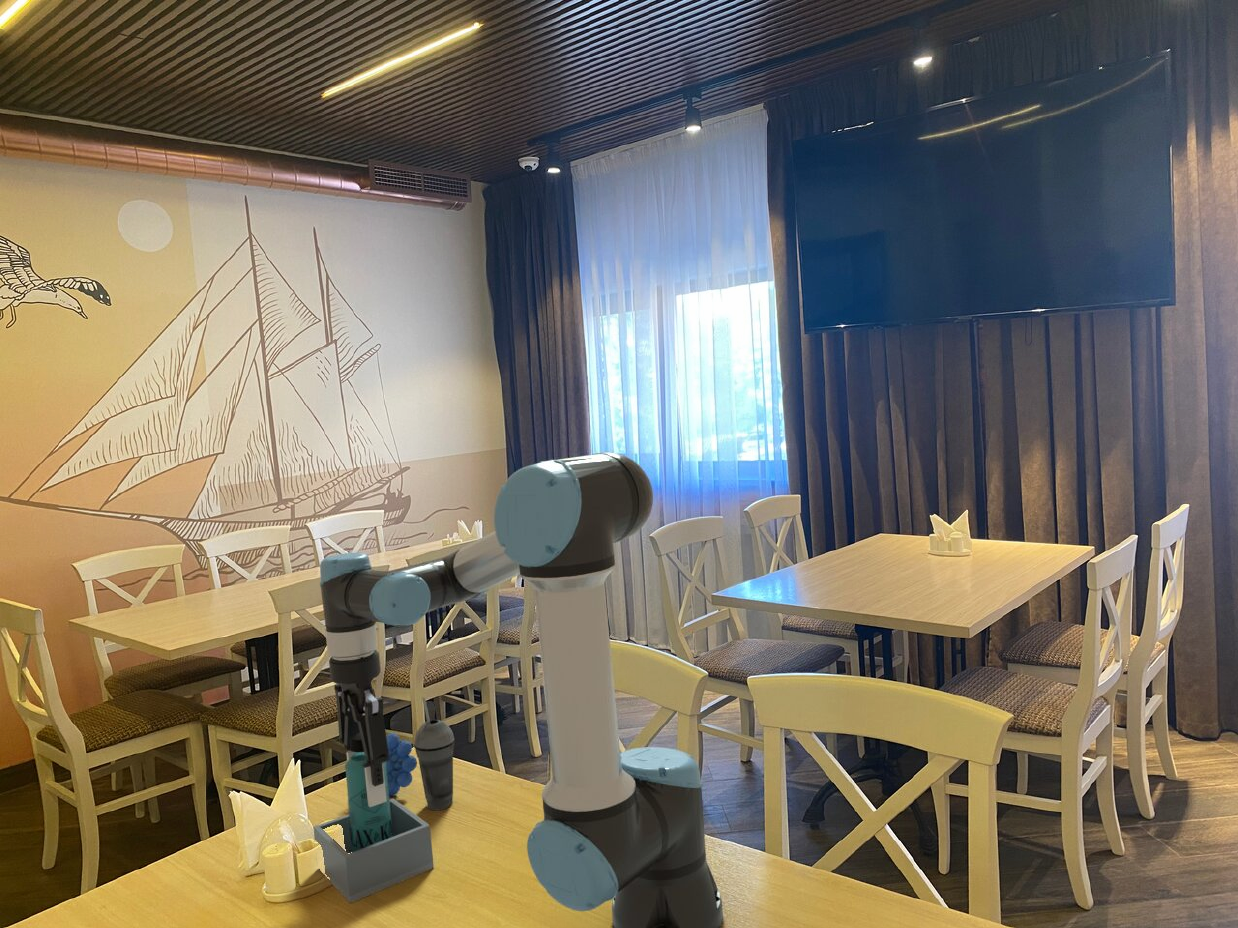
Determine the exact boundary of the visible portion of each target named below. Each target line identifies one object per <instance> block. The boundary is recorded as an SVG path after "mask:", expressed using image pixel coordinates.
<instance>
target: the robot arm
mask: <svg viewBox="0 0 1238 928" xmlns="http://www.w3.org/2000/svg"><path fill="white" fill-rule="evenodd" d="M651 483H652V482H651V481H650V478H649V476H648V475H647V473H646V471H645V470H644V468H642V467H641V466H640V464H639V463H637V462H636V461H634V460H633V459H631V458H630V457H627V456H625V455H623V454H619V453H615V452H610V451H609V452H608V451H607V452H606V451H605V452H598V453H592V454H588V455H587V454H586V455H581V456H573V457H566V458H559V459H549V460H545V461H543V460H542V461H539V462H538V463H534V464H530V465H526V466H524V467H521V468H519V469H517V470H516V471H515V472H513V473H512V474H511V475H510V476H509V477H508V478H507V480H506V482H505V484H503V485H502V487H501V488H500V491H499V493H498V495H497V498H496V501H495V506H494V510H493V511H494V512H493V522H494V523H493V524H494V531H492V532H489V533H488V534H486V535H484V536H482V537H480V538H478V539H476V540H475V541H473V542H470V543H468V544H467V545H465V546H464V547H461V548H460V549H458V550H456V551H453V552H452V553H450V554H448V555H445V556H443V557H440V558H437V559H433V560H429V561H424V562H421V563H416V564H413V565H407V566H403V567H400V568H396V569H391V570H374V569H372V565H371V561H370V560H371V559H370V557H369V555H367V554H366V553H365V552H346V553H340V554H334V555H330V556H327V557H325V558H324V559H322V561H320V564H319V569H320V571H319V572H320V582H319V586H320V591H321V599H322V601H321V602H322V607H323V610H322V611H323V616H324V624H325V639H326V650H327V651H326V652H327V654H328V656H329V657H330V658H329V660H328V665H329V673H330V675H329V676H330V680H331V682H332V683H334V686H333V689H334V692H335V698H336V708H337V709H336V710H337V711H336V712H337V723H338V724H337V725H338V727H337V728H338V739H339V743H340V744H341V745H342V744H343V748H344V750H345V751H346V752H345V753H346V762H347V761H348V760H349V759H350V758H351V757H352V756H353V755H354V754H356V753H359V752H352V751H351V749H350V745H351V744H350V738H351V736H352V735H354V734H356V733H359V732H360V735H361V739H362V744H363V748H364V753H365V758H366V763H365V764H362V766H363V768H364V769H365V779H366V789H367V798H368V806H369V807H372V806H375V805H378V804H381V803H384V802H386V801H387V798H386V788H385V778H384V768H383V762H386V761H389V754H388V746H387V739H386V736H387V734H386V733H387V732H386V725H385V719H384V718H385V717H384V699H383V697H378V698H376V693H375V690H374V688H373V684H372V681H374V679H376V678H377V677H379V676H380V674H381V673H382V672H381V671H382V670H381V661H380V660H381V659H380V652H379V651H378V650H377V648H378V646H379V644H378V643H379V642H378V635H377V634H378V632H379V631H380V628H379V627H378V626H377V624H376V623H381V624H386V625H388V626H390V625H391V626H394V627H396V626H397V627H398V626H410V625H414V624H417V623H418V622H419V621H420V620H421V619H422V618H423V617H424V616H425V615H426V614H427V613H429V612H432V611H435V610H438V609H441V608H445V607H448V606H452V605H455V604H457V603H462V602H468V601H471V600H474V599H477V598H478V597H480V596H483V595H485V594H486V593H488V592H489V590H490V589H491V588H493V587H495V586H498V585H500V584H502V583H504V582H506V581H509V580H511V579H513V578H515V577H517V576H519V577H520V578H521V579H522V580H524V581H525V582H527V583H528V584H529V585H531V587H532V588H533V590H534V602H535V611H536V613H535V614H536V622H537V630H538V631H537V632H538V640H539V641H538V643H539V652H540V653H539V654H540V664H541V672H542V683H543V693H544V702H545V703H544V704H545V713H546V721H547V722H546V723H547V732H548V733H547V734H548V735H547V736H548V742H549V752H550V763H551V765H550V766H551V773H552V777H551V779H550V780H549V781H548V782H547V783H546V785H544V787H543V789H542V791H541V795H542V796H541V798H542V809H543V820H542V821H539V822H537V823H536V824H535V826H534V827H533V828H532V831H531V832H530V833H529V834H528V838H527V842H526V843H527V847H526V849H527V857H528V861H529V864H530V867H531V869H532V871H533V873H534V876H535V877H536V880H537V881H538V883H539V884H540V885H541V886H542V887H543V889H545V891H546V892H547V894H548V895H549V896H550V897H552V899H554V900H555V901H556V902H557V903H559V904H560V905H562V906H563V907H566V908H567V909H570V910H572V911H576V912H589V911H593V910H595V909H596V908H598V907H599V906H601V905H603V904H604V903H605V902H609V901H612V902H611V913H612V914H611V915H612V916H611V917H612V925H613V928H721V925H722V924H723V919H724V912H723V901H722V899H723V898H722V896H721V893H720V891H719V889H718V886H717V884H716V881H715V878H714V876H713V874H712V871H711V867H710V866H709V864H708V860H707V853H706V838H705V837H706V835H705V824H704V823H705V821H704V820H705V819H704V806H703V790H702V788H703V786H704V784H703V782H702V780H701V779H702V778H701V773H700V771H701V770H700V766H699V763H698V761H696V759H695V758H694V757H693V756H692V755H690V754H689V753H687V752H684V751H682V750H679V749H674V748H668V747H662V746H661V747H658V746H647V747H645V746H643V747H635V748H631V749H627V750H624V751H622V752H621V747H620V746H621V745H620V737H619V736H620V735H619V726H618V715H617V705H616V695H615V694H616V693H615V682H614V672H613V671H614V670H613V662H612V661H613V660H612V650H611V640H610V639H611V638H610V629H609V628H610V627H609V619H608V618H609V617H608V609H607V607H608V606H607V597H606V596H607V595H606V587H605V586H606V585H605V581H606V579H607V577H608V576H609V575H610V574H611V572H612V571H613V570H615V567H616V561H615V560H616V559H615V558H616V557H615V549H614V544H616V543H618V542H621V541H623V540H626V539H628V538H630V537H632V536H633V535H635V534H637V532H639V531H640V530H641V529H642V528H643V526H644V525H646V523H647V521H648V520H649V517H650V515H651V512H652V510H653V505H654V503H653V502H654V492H653V486H652V484H651Z"/></svg>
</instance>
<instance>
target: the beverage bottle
mask: <svg viewBox="0 0 1238 928" xmlns="http://www.w3.org/2000/svg"><path fill="white" fill-rule="evenodd" d="M350 744H351V745H350V749H351V751H352V752H359V753H356V754H354V755H353V756H352V757H351V758H350V759H349V760H348V761H347V760H346V763H345V764H344V769H345V774H346V775H345V777H346V789H347V806H348V810H347V813H348V814H349V816H350V819H349V820H350V823H349V827H350V831H351V833H350V838H351V841H352V842H351V844H352V846H351V847H352V848H351V849H353V850H352V851H353V852H355V851H357V850H360V849H363V848H365V847H368V846H370V845H373V844H376V843H378V842H381V841H383V840H386V839H389V838H391V837H392V836H393V832H392V831H393V830H392V826H393V825H391V813H390V807H391V806H390V805H391V804H390V803H391V802H389V800H390V799H391V798H390V796H389V791H388V788H389V787H388V783H387V772H386V762H383V768H384V778H385V788H386V798H387V801H386V802H384V803H381V804H378V805H375V806H372V807H369V806H368V798H367V789H366V779H365V769H364V768H363V766H362V764H365V763H366V758H365V753H364V748H363V744H362V739H361V735H360V732H359V733H356V734H354V735H352V736H351V738H350ZM349 816H348V817H349ZM393 837H394V836H393Z"/></svg>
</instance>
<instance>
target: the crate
mask: <svg viewBox="0 0 1238 928" xmlns="http://www.w3.org/2000/svg"><path fill="white" fill-rule="evenodd" d="M389 802H391V803H390V804H391V805H390V806H391V807H390V813H391V825H393V826H392V830H393V831H392V832H393V836H394V837H393V836H392V837H391V838H389V839H386V840H383V841H381V842H378V843H376V844H373V845H370V846H368V847H365V848H363V849H360V850H357V851H355V852H353V851H352V850H353V849H351V848H352V847H351V846H352V844H351V842H352V841H351V838H350V833H351V831H350V827H349V823H350V820H349V819H350V816H349V813H348V814H345V815H343V816H340V817H336V818H334V819H331V820H329V821H326V822H323V823H320V824H318V825H315V826H314V825H313V837H314V838H313V839H314V841H315V840H316V841H317V842H318V843H319V844H320V845H321V847H322V850H323V857H324V865H325V874H326V875H327V877H329V878H330V881H331V882H330V881H329V882H330V883H331V884H332V886H333V887H334V888H335V889H336V890H337V891H338V892H339V893H340V894H341V895H342V897H344V898H345V899H346V900H347V901H348V902H349V904H352V903H353V902H356V901H359V900H361V899H363V898H364V899H365V898H366V897H368V896H371V895H373V894H376V893H378V892H380V891H383V890H385V889H387V888H391V887H392V886H394V885H397V884H399V883H401V882H404V881H406V880H409V879H411V878H414V877H416V876H419V875H420V874H423V873H425V872H426V873H427V872H428V871H431V870H433V869H434V868H435V867H434V856H433V846H432V835H431V825H430V824H429V823H427V822H426V821H424V820H423V819H422V818H420V817H419V815H416V814H415V813H414V812H413V811H411V810H410V809H409V808H407V807H406V806H405V805H403V804H402V803H401V802H399V801H397V800H396V799H395V798H390V799H389ZM348 816H349V817H348ZM337 824H339V825H341V826H342V828H343V835H344V844H345V849H346V851H345V850H344V849H343V848H342V847H341V846H340V845H339V844H338V843H337V842H336V841H335V840H334V839H332V838H331V837H330V836H329V835H328V834H327V833H326V832H325V831H324V830H323V829H325V828H327V827H330V826H332V825H337ZM351 852H352V853H351ZM348 853H350V854H348Z"/></svg>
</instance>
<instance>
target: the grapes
mask: <svg viewBox="0 0 1238 928" xmlns="http://www.w3.org/2000/svg"><path fill="white" fill-rule="evenodd" d="M386 739H387V746H388V754H389V761H386V772H387V783H388V787H389V788H388V791H389V797H390V796H391V797H393V796H396V795H397V794H398V793H399V792H400V790H401V788H406V787H409V786H410V785H411V784H412V782H413V775H412V772H413V771H414V770H416V768H417V766H418V761H417V758H416V756H414V755H410V754H411V752H412V751H413V746H412V743H411V742H410V741H409V740H402V741H400V737H399V735H397V734H396V733H389V734H386Z"/></svg>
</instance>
